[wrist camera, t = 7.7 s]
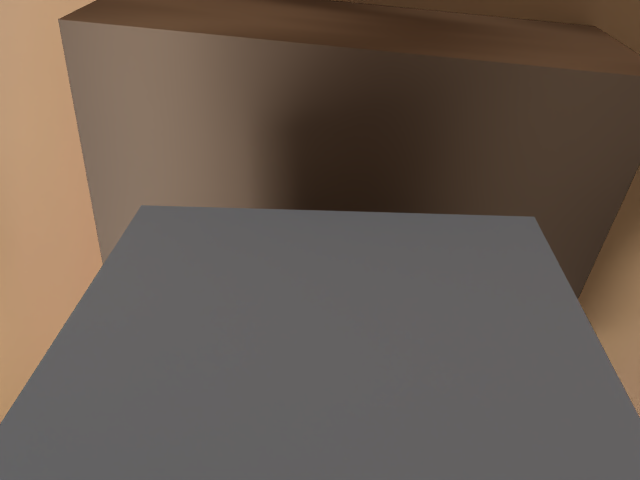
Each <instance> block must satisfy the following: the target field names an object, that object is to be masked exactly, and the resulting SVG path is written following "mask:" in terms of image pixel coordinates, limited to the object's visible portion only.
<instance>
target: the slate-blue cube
mask: <svg viewBox="0 0 640 480" xmlns="http://www.w3.org/2000/svg"><path fill="white" fill-rule="evenodd" d="M0 480H640V418H639V416H638V414H637V412H636V410H635V408H634V406H633V404H632V402H631V400H630V398H629V397H628V395H627V393H626V391H625V389H624V387H623V385H622V383H621V381H620V379H619V377H618V376H617V374H616V372H615V370H614V368H613V366H612V364H611V362H610V360H609V358H608V356H607V355H606V353H605V351H604V349H603V347H602V345H601V343H600V341H599V339H598V337H597V335H596V334H595V332H594V330H593V328H592V326H591V324H590V322H589V320H588V318H587V316H586V314H585V313H584V311H583V309H582V307H581V305H580V303H579V301H578V299H577V297H576V295H575V294H574V292H573V290H572V288H571V286H570V284H569V282H568V280H567V278H566V276H565V274H564V273H563V271H562V269H561V267H560V265H559V263H558V261H557V259H556V257H555V255H554V253H553V252H552V250H551V248H550V246H549V244H548V242H547V240H546V238H545V236H544V234H543V232H542V231H541V229H540V227H539V225H538V223H537V221H536V219H535V217H528V216H493V215H459V214H424V213H390V212H355V211H321V210H286V209H251V208H217V207H182V206H148V205H141V207H140V208H139V210H138V211H137V213H136V215H135V216H134V218H133V219H132V221H131V222H130V224H129V225H128V227H127V229H126V230H125V232H124V233H123V235H122V236H121V238H120V239H119V241H118V242H117V244H116V246H115V247H114V249H113V250H112V252H111V253H110V255H109V256H108V258H107V259H106V261H105V263H104V264H103V266H102V267H101V269H100V270H99V272H98V273H97V275H96V277H95V278H94V280H93V281H92V283H91V284H90V286H89V287H88V289H87V290H86V292H85V294H84V295H83V297H82V298H81V300H80V301H79V303H78V304H77V306H76V308H75V309H74V311H73V312H72V314H71V315H70V317H69V318H68V320H67V321H66V323H65V325H64V326H63V328H62V329H61V331H60V332H59V334H58V335H57V337H56V339H55V340H54V342H53V343H52V345H51V346H50V348H49V349H48V351H47V352H46V354H45V356H44V357H43V359H42V360H41V362H40V363H39V365H38V366H37V368H36V370H35V371H34V373H33V374H32V376H31V377H30V379H29V380H28V382H27V383H26V385H25V387H24V388H23V390H22V391H21V393H20V394H19V396H18V397H17V399H16V401H15V402H14V404H13V405H12V407H11V408H10V410H9V411H8V413H7V414H6V416H5V418H4V419H3V421H2V422H1V424H0Z"/></svg>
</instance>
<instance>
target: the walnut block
mask: <svg viewBox="0 0 640 480" xmlns="http://www.w3.org/2000/svg"><path fill="white" fill-rule="evenodd" d="M58 21H59V27H60V32H61V38H62V43H63V49H64V54H65V60H66V65H67V71H68V76H69V82H70V87H71V93H72V98H73V104H74V109H75V115H76V120H77V126H78V131H79V136H80V142H81V147H82V153H83V158H84V164H85V169H86V175H87V180H88V186H89V191H90V197H91V202H92V208H93V213H94V219H95V224H96V230H97V235H98V241H99V246H100V252H101V257H102V262H103V264H104V263H105V261H106V259H107V258H108V256H109V255H110V253H111V252H112V250H113V249H114V247H115V246H116V244H117V242H118V241H119V239H120V238H121V236H122V235H123V233H124V232H125V230H126V229H127V227H128V225H129V224H130V222H131V221H132V219H133V218H134V216H135V215H136V213H137V211H138V210H139V208H140V207H141V205H148V206H182V207H217V208H251V209H286V210H321V211H355V212H390V213H424V214H459V215H493V216H528V217H535V219H536V221H537V223H538V225H539V227H540V229H541V231H542V232H543V234H544V236H545V238H546V240H547V242H548V244H549V246H550V248H551V250H552V252H553V253H554V255H555V257H556V259H557V261H558V263H559V265H560V267H561V269H562V271H563V273H564V274H565V276H566V278H567V280H568V282H569V284H570V286H571V288H572V290H573V292H574V294H575V295H576V297H577V299H578V298H579V296H580V293H581V291H582V289H583V287H584V285H585V282H586V280H587V278H588V276H589V274H590V272H591V269H592V267H593V265H594V263H595V261H596V258H597V256H598V254H599V252H600V250H601V248H602V245H603V243H604V241H605V239H606V237H607V234H608V232H609V230H610V228H611V226H612V224H613V221H614V219H615V217H616V215H617V213H618V210H619V208H620V206H621V204H622V202H623V200H624V197H625V195H626V193H627V191H628V189H629V186H630V184H631V182H632V180H633V178H634V176H635V173H636V171H637V169H638V167H639V165H640V55H639V54H637V53H636V52H634V51H633V50H631V49H630V48H628V47H627V46H625V45H623V44H622V43H620V42H619V41H617V40H616V39H614V38H613V37H611V36H609V35H608V34H606V33H605V32H603V31H602V30H600V29H599V28H597V27H595V26H587V25H577V24H566V23H556V22H546V21H536V20H525V19H515V18H505V17H495V16H485V15H474V14H464V13H454V12H444V11H433V10H423V9H413V8H403V7H392V6H382V5H372V4H362V3H351V2H341V1H331V0H96V1H94V2H92V3H90V4H88V5H86V6H84V7H82V8H80V9H78V10H76V11H74V12H72V13H70V14H68V15H66V16H64V17H62V18H60V19H58Z"/></svg>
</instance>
